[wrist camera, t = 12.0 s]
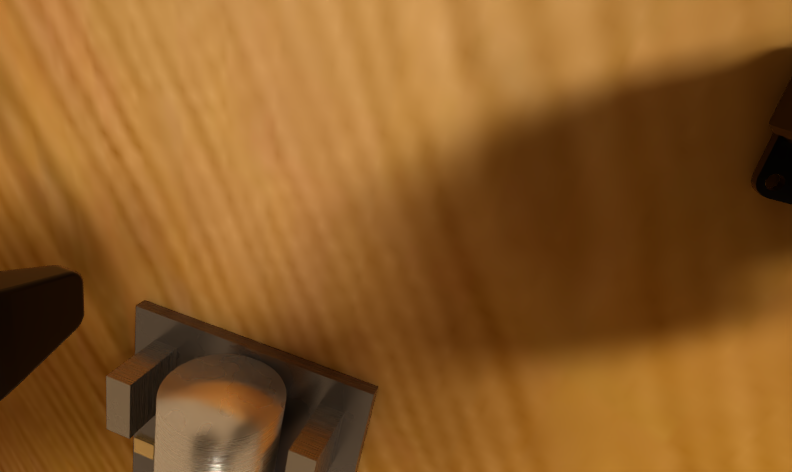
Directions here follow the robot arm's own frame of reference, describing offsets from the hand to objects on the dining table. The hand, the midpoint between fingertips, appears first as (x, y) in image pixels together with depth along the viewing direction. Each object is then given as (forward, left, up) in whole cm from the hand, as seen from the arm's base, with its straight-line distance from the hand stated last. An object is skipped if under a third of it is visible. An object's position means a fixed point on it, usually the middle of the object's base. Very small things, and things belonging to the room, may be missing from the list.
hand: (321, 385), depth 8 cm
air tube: (+7, +18, -11) cm, 22 cm away
